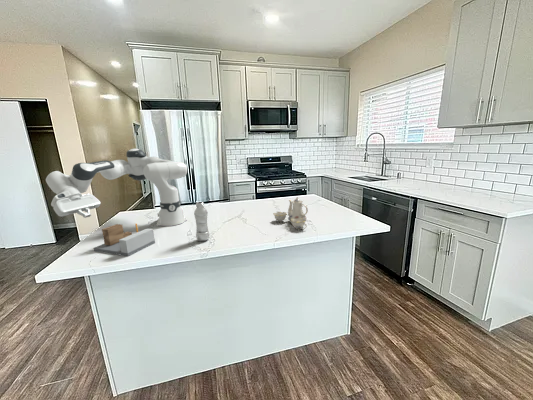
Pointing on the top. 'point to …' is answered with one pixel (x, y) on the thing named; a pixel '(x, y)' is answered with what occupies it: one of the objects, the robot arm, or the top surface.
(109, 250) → the base
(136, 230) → the needle
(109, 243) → the brown wooden block
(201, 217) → the plastic bottle
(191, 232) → the top surface
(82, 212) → the robot arm
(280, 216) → the chinaware
